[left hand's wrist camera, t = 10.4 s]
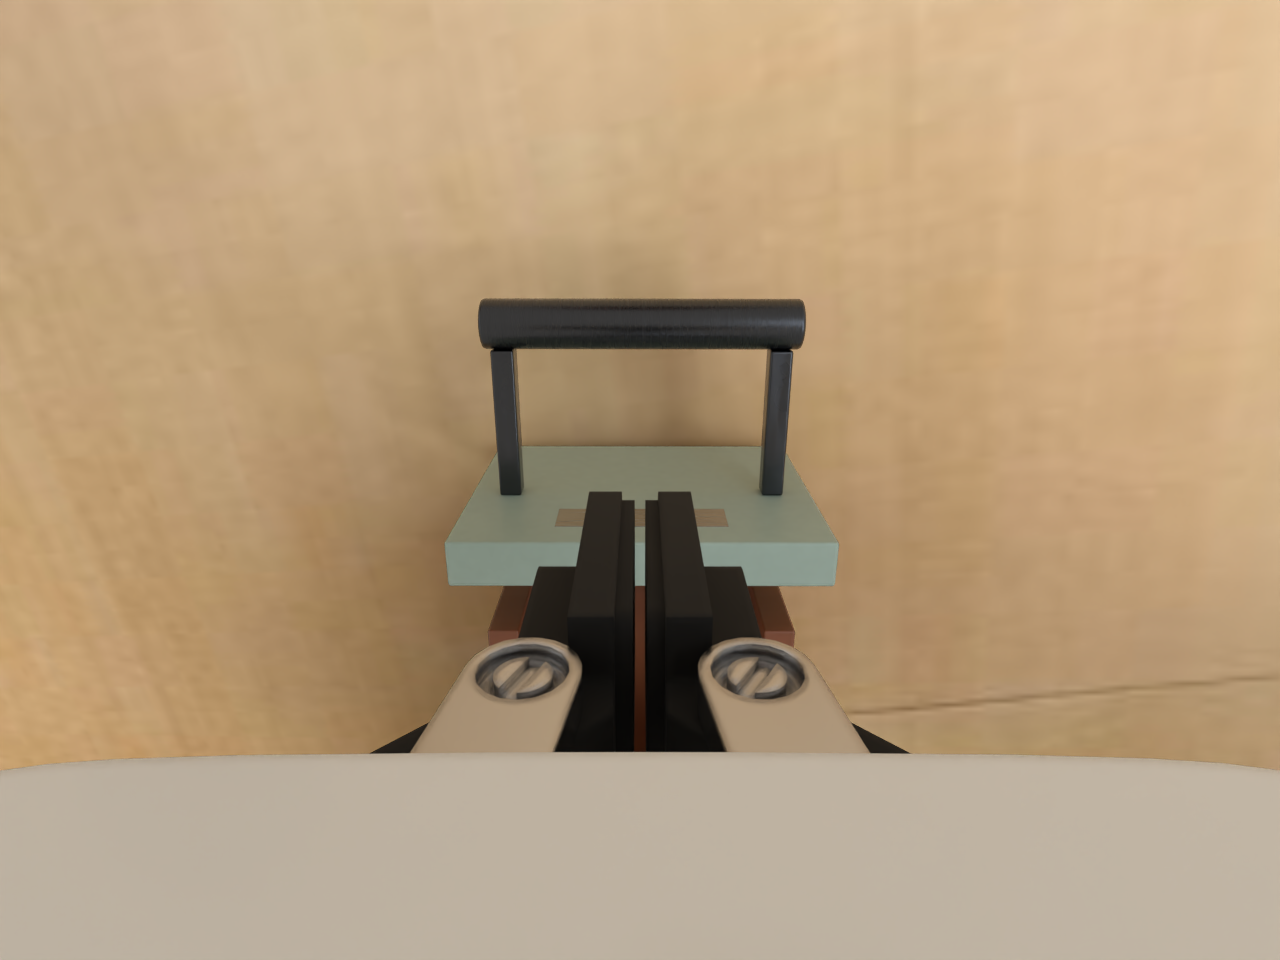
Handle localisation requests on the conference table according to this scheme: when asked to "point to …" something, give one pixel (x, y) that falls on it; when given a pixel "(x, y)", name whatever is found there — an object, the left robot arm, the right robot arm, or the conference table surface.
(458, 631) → the conference table surface
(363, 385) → the conference table surface
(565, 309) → the drawer
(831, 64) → the conference table surface
